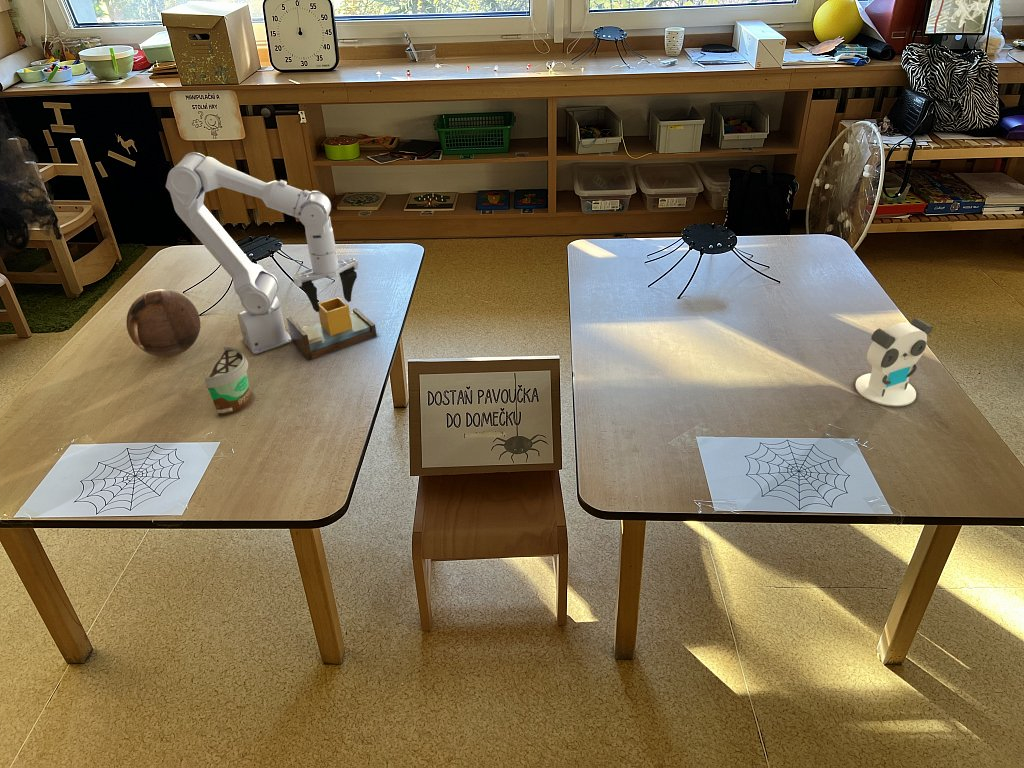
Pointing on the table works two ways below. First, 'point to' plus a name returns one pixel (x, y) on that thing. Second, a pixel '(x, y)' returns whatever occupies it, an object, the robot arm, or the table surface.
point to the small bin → (335, 316)
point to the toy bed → (319, 342)
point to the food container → (229, 383)
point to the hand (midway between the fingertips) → (332, 305)
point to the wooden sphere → (163, 323)
